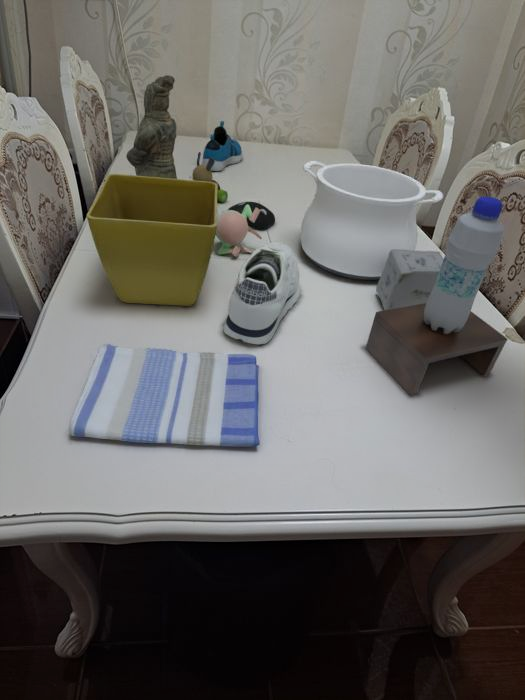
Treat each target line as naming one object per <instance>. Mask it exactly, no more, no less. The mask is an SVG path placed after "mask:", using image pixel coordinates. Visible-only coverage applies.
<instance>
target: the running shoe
mask: <svg viewBox="0 0 525 700" xmlns="http://www.w3.org/2000/svg"><path fill="white" fill-rule="evenodd" d="M252 252H253V253H251V254H250V255H249V256H248V258H246V260H245V261H244V263H243V264H242V266H241V267H240V269H239V272H238V275H237V278H236V280H235V284H234V288H233V290H232V292H231V295H230V298H229V302H228V315H227V317H226V320H225V322H224V325H223V328H222V330H223V332H224V333H225V334H226V335H227V336H229V337H231V338H233V339H234V340H242V342H243V343H247V344H251V345H252V344H253V345H264V344H268V343H269V342H270V341H271V340H272V338H273V337H274V336H275V334H276V331H277V329H278V328H279V327H280V323H281V320H282V319H283V317H285V316H286V315H287V312H288V311H289V310H291V309H292V308H293V307H294V304H297V302H298V299H299V297H300V296H301V292H300V291H301V288H300V269H299V265H298V261H297V258H296V256H295V254H294V252H293V250H292V249H291V248H290V247H289V246H288V245H287V244H285V243H282V242H279V241H270V242H267V243H266V244H265V243H264V244H263V245H262V246H260V247H258V248H257V249H255V250H254V251H252Z"/></svg>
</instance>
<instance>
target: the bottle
mask: <svg viewBox="0 0 525 700" xmlns="http://www.w3.org/2000/svg"><path fill="white" fill-rule="evenodd" d="M503 206H504V205H503V202H502V201H501V200H500V199H498V198H496V197H492V196H488V195H486V196H484V195H483V196H480V197H479V198H477V200H476V201H475V203H474V205H473V208H472V211H471V212H468V213H463V214H461V215H460V216H459V217H458V219H457V220H456V223H455V224H454V226H453V228H452V230H451V232H450V234H449V236H448V239H447V243H446V245H445V250H446V251H445V255H444V257H443V259H444V260H443V263H442V266H441V268H440V271H439V274H438V277H437V279H436V283H435V285H434V287H433V290H432V292H431V294H430V296H429V298H428V301H427V303H426V306H425V310H424V321H425V323H426V324H428V325H430V324H431V328H432V330H434V331H436V330H437V329H438V327H442V328H444V330H443V333H444V334H449V333H450V332H451V331H452V332H454V333H456V332H458V331H460V330H461V329H462V327H463V326H464V325H465V323H466V321H467V319H468V317H469V314H470V311H471V312H472V308H473V305H474V303H475V299H476V296H477V294H478V292H479V290H480V288H481V285H482V283H483V280H484V278H485V276H486V274H487V271H488V269H489V266H490V265H491V264H492V263H493V262H494V261H495V259H496V255H497V254H498V253H499V251H500V247H501V243H502V241H503V240H502V239H503V236H504V232H505V226H504V224H503V223H502V222H501V221H500V220H498V219H499V218H500V215H501V214H502V211H503Z"/></svg>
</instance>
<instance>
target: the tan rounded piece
mask: <svg viewBox="0 0 525 700" xmlns="http://www.w3.org/2000/svg"><path fill="white" fill-rule="evenodd" d="M201 156H202V152H201V151H199V152H198V153H197V159H196V167H195V168H193V170H192V180H195V181H207V182H214V183H216V184H217V185H218V189H217V202H220V203H225V202H226V201H227V200H228V196H229V194H228V191H226V190H224V189H222V188H221V186H220V183H219V182H218V181H216V180H214V179H213V171H211V168H212V167H213V165H214V163H215V160H214V159H213V158H212V157H211V158H209V161H208V163H207V166H206V165H202V164H200V161H201Z"/></svg>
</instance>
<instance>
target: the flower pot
mask: <svg viewBox="0 0 525 700" xmlns="http://www.w3.org/2000/svg"><path fill="white" fill-rule="evenodd" d="M217 189H218V185H217V184H216V183H214V182H207V181H195V180H193V179H183V178H177V179H172V178H160V177H148V176H136V174H135V175H134V174H133V175H132V174H125V173H110V174H108V175H107V176H106V178H105V179H104V182H103V184H102V186H101V188H100V189H99V192H98V194H97V195H96V197H95V199H94V201H93V202H92V204H91V206H90V208H89V209H88V212H87V213H86V218H87V222H88V226H89V230H90V234H91V237H92V240H93V243H94V246H95V249H96V252H97V254H98V256H99V260H100V263H101V266H102V267H103V269H104V272H105V274H106V277H107V278H108V281H109V282H110V284H111V286H112V288H113V290H114V292H115V294H116V296H117V297H118V299H119V301H121V302H122V303H124V304H125V303H128V304H142V305H143V304H144V305H145V304H146V305H164V306H167V305H168V306H182V307H183V306H184V307H191V306H193V305H195V304H196V301H197V299H198V297H199V294H200V292H201V290H202V286H203V284H204V281H205V278H206V276H207V271H208V268H209V265H210V261H211V257H212V254H213V249H214V245H215V239H216V229H217V216H218V200H217Z"/></svg>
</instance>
